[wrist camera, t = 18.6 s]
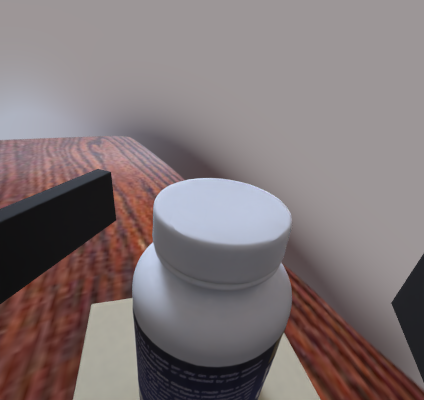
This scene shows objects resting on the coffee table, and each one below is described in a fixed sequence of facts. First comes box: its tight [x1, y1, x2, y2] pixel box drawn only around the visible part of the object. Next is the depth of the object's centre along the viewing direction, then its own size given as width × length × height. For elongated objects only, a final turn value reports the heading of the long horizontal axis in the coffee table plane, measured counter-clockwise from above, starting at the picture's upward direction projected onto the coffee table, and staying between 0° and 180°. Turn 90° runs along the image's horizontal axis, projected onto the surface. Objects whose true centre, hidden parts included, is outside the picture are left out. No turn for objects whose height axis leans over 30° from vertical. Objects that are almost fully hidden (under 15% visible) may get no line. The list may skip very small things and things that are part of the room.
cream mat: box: [73, 298, 321, 400], centre depth 12 cm, size 11×11×1 cm
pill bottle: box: [132, 178, 292, 400], centre depth 9 cm, size 5×5×10 cm
